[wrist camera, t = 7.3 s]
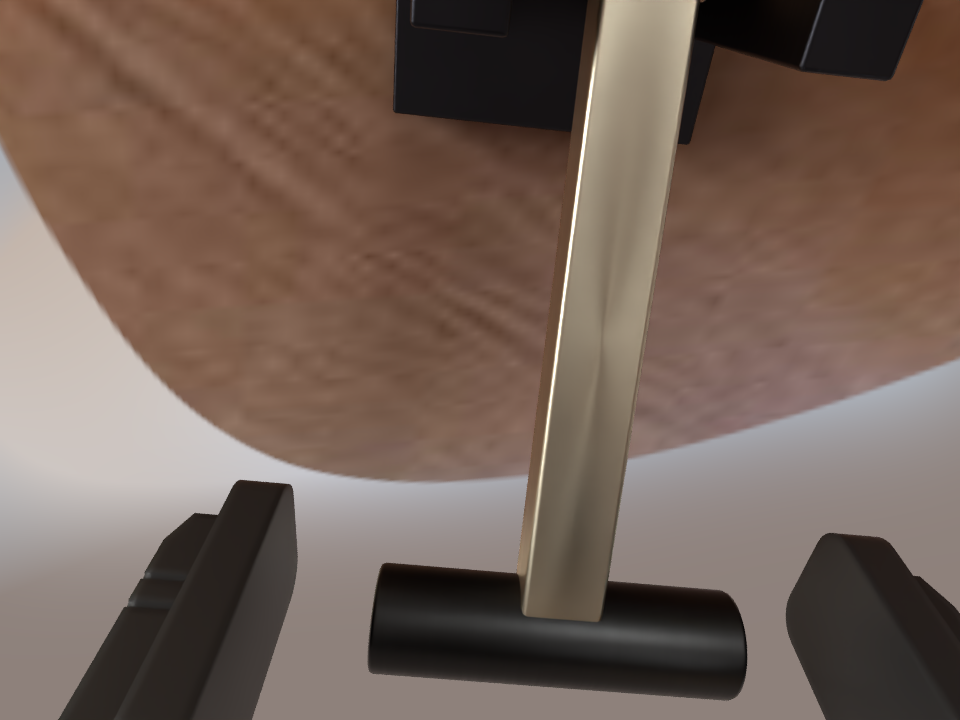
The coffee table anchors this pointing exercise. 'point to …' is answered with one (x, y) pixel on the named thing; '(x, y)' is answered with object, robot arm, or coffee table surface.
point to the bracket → (558, 44)
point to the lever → (584, 423)
